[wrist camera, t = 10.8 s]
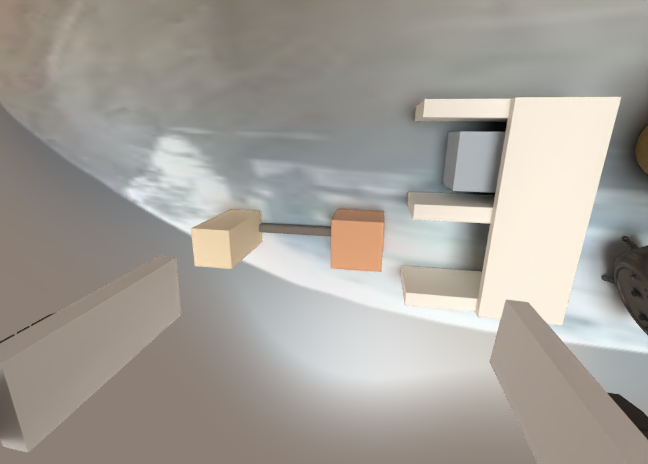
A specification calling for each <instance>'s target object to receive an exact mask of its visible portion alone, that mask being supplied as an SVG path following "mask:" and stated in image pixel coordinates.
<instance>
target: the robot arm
mask: <svg viewBox="0 0 648 464" xmlns="http://www.w3.org/2000/svg"><path fill="white" fill-rule="evenodd" d="M180 315H181V305H180V295H179V283H178V272H177V261H176V258H175V257H167V256H158V257H156V258H155V259H153V260H151V261H149V262H147V263H145V264H144V265H142V266H140V267H138V268H136V269H135V270H133V271H131V272H129V273H127V274H126V275H124V276H122V277H120V278H118V279H116V280H115V281H113V282H111V283H109V284H108V285H106V286H104V287H102V288H100V289H98V290H96V291H95V292H93V293H91V294H89V295H87V296H86V297H84V298H82V299H80V300H78V301H77V302H75V303H73V304H71V305H69V306H67V307H66V308H64V309H62V310H60V311H59V312H56V313H53V314H50V315H48V316H46V317H44V318H42V319H41V320H39V321H37V322H35V323H33V324H32V325H31V327H29V326H28V327H26V328H24V329H23V330H21V331H19V332H17V334H16V335H11V336H10V337H8V338H6V339H4V340H2V341H0V439H1V442H2V445H3V447H7V448H11V449H15V450H19V451H24V452H29V451H31V450H32V449H33V448H34V447H35V446H36V445H37V444H38V443H39V442H40V441H42V440H43V439H44V438H45V437H46V436H47V435H48V434H49V433H50V432H52V430H54V429H55V428H56V427H57V426H58V425H59V424H60V423H62V422H63V421H64V420H65V419H66V418H67V417H68V416H69V415H70V414H72V413H73V412H74V411H75V410H76V409H77V408H78V407H79V406H80V405H81V404H83V403H84V402H85V401H86V400H87V399H88V398H89V397H90V396H91V395H92V394H94V393H95V392H96V391H97V390H98V389H99V388H100V387H101V386H102V385H104V384H105V383H106V382H107V381H108V380H109V379H110V378H111V377H113V376H114V375H115V374H116V373H117V372H118V371H119V370H120V369H121V368H122V367H124V365H126V364H127V363H128V362H129V361H130V360H131V359H132V358H133V357H135V356H136V355H137V354H138V353H139V352H140V351H141V350H142V349H144V348H145V347H146V346H147V345H148V344H149V343H150V342H151V341H152V340H153V339H155V338H156V337H157V336H158V335H159V334H160V333H161V332H162V331H163V330H164V329H166V328H167V327H168V326H169V325H170V324H171V323H172V322H173V321H174V320H176V318H178V317H179V316H180ZM490 364H491V366H492V368H493V370H494V372H495V374H496V376H497V378H498V380H499V383H500V385H501V387H502V389H503V391H504V393H505V395H506V398H507V400H508V402H509V403H510V406H511V408H512V410H513V412H514V414H515V416H516V419H517V421H518V423H519V425H520V427H521V429H522V431H523V434H524V436H525V438H526V440H527V442H528V444H529V446H530V448H531V450H532V453H533V455H534V457H535V459H536V461H537V463H538V464H648V417H647V416H646V415H645V414H644V412H642V411H641V410H640V409H638V408H637V407H635V406H634V405H633V404H632V403H630V402H629V401H627V400H626V399H625V398H623V397H622V396H621V395H619V394H613V393H607V392H606V391H605V390H604V389H603V388H602V387H601V385H600V384H599V383H598V382H597V381H596V380H595V378H594V377H593V376H592V375H591V374H590V373H589V372H588V370H587V369H586V368H585V367H584V366H583V365H582V363H581V362H580V361H579V360H578V359H577V358H576V357H575V355H574V354H573V353H572V352H571V351H570V350H569V349H568V347H567V346H566V345H565V344H564V343H563V342H562V340H561V339H560V338H559V337H558V336H557V335H556V333H555V332H554V331H553V330H552V329H551V328H550V327H549V325H548V324H547V323H546V322H545V321H544V320H543V318H542V317H541V316H540V315H539V314H538V313H537V312H536V310H535V309H534V308H533V307H532V306H531V305H530V303H529V302H523V301H515V300H507V299H506V301H505V304H504V308H503V312H502V316H501V320H500V324H499V328H498V332H497V336H496V340H495V344H494V347H493V351H492V355H491V359H490Z"/></svg>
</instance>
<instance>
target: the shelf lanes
mask: <svg viewBox="0 0 648 464" xmlns="http://www.w3.org/2000/svg"><path fill="white" fill-rule="evenodd" d="M620 100H621V97H515V98H512V99H424V100H423V101H422V102H421V103H420V104H419V105H417V106H416V111H415V121H450V122H507V127H506V133H505V139H504V145H503V151H502V157H501V163H500V169H499V175H498V181H497V187H496V193H495V195H477V194H452V193H427V192H408V200H407V205H408V208H409V210H410V213H411V215H412V218H413V219H414V220H433V221H452V222H471V223H490V228H489V234H488V240H487V246H486V252H485V258H484V264H483V270H482V271H469V270H456V269H443V268H429V267H416V266H403V265H402V267H401V282H402V289H403V296H404V303H405V305H406V306H416V307H427V308H437V309H448V310H459V311H469V312H476V314H477V316H478V317H484V318H494V319H501V316H502V312H503V308H504V304H505V301H506V299H507V300H515V301H523V302H529V303H530V305H531V306H532V307H533V308H534V309H535V310H536V312H537V313H538V314H539V315H540V316H541V317H542V318H543V320H544V321H545V322H546V323H547V324H556V325H562V324H563V320H564V316H565V312H566V308H567V305H568V301H569V297H570V293H571V289H572V285H573V281H574V278H575V274H576V270H577V266H578V262H579V258H580V254H581V251H582V247H583V243H584V239H585V235H586V231H587V227H588V223H589V220H590V216H591V212H592V208H593V204H594V200H595V196H596V193H597V189H598V185H599V181H600V177H601V173H602V169H603V166H604V162H605V158H606V154H607V150H608V146H609V142H610V138H611V135H612V131H613V127H614V123H615V119H616V115H617V111H618V108H619V104H620Z"/></svg>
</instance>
